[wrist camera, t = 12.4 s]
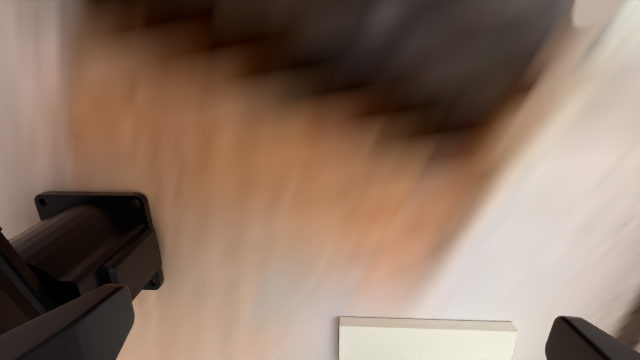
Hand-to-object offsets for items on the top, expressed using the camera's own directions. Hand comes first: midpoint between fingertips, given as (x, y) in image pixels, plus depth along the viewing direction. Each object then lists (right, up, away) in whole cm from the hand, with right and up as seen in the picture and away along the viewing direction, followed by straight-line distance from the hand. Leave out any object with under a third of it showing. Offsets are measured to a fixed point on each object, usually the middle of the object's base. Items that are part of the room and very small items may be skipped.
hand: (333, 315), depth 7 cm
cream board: (+7, -11, +17) cm, 21 cm away
